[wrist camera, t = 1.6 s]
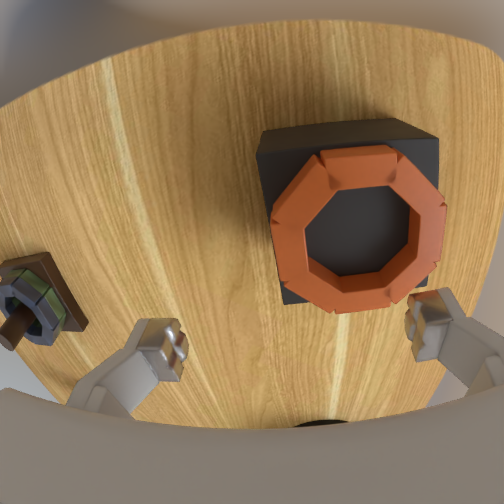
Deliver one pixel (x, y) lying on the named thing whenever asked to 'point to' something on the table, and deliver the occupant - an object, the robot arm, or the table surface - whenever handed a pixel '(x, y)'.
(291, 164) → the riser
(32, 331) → the stack post
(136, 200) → the table surface
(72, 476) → the robot arm
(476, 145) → the table surface
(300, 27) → the table surface
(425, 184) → the orange ring
